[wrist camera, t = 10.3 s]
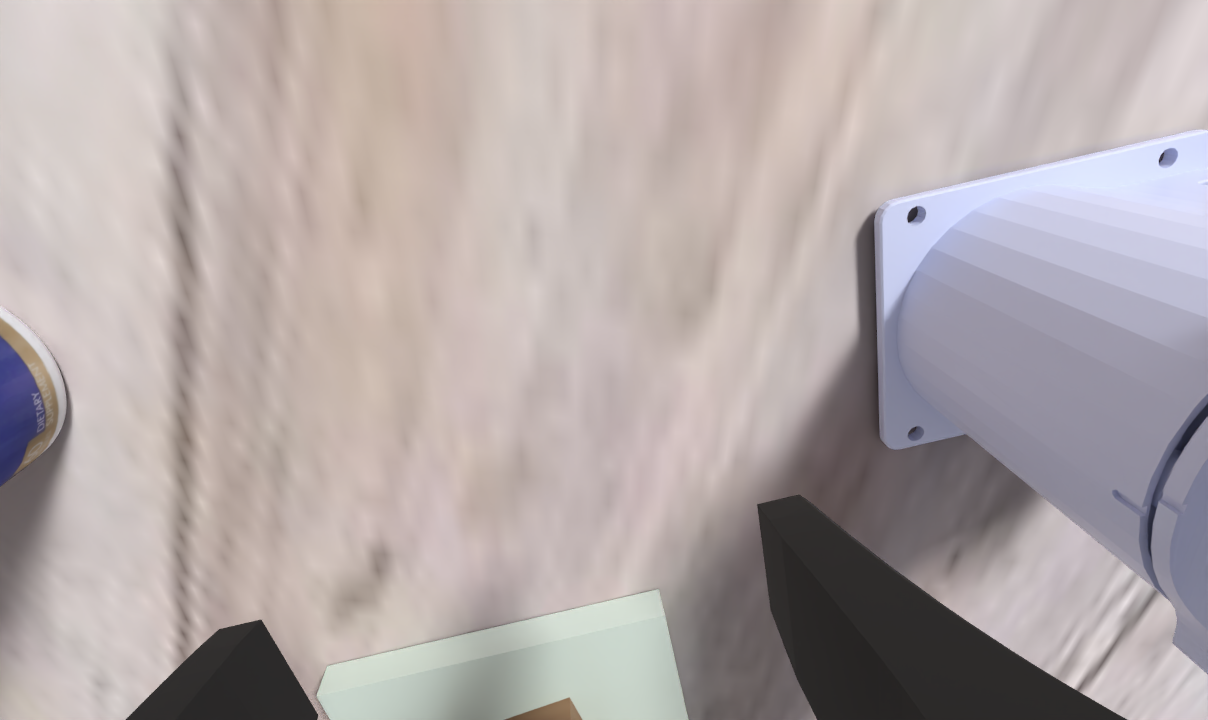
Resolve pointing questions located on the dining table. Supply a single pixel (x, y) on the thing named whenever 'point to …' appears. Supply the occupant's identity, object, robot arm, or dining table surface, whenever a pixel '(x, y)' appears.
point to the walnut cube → (551, 712)
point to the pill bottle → (26, 396)
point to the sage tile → (522, 670)
